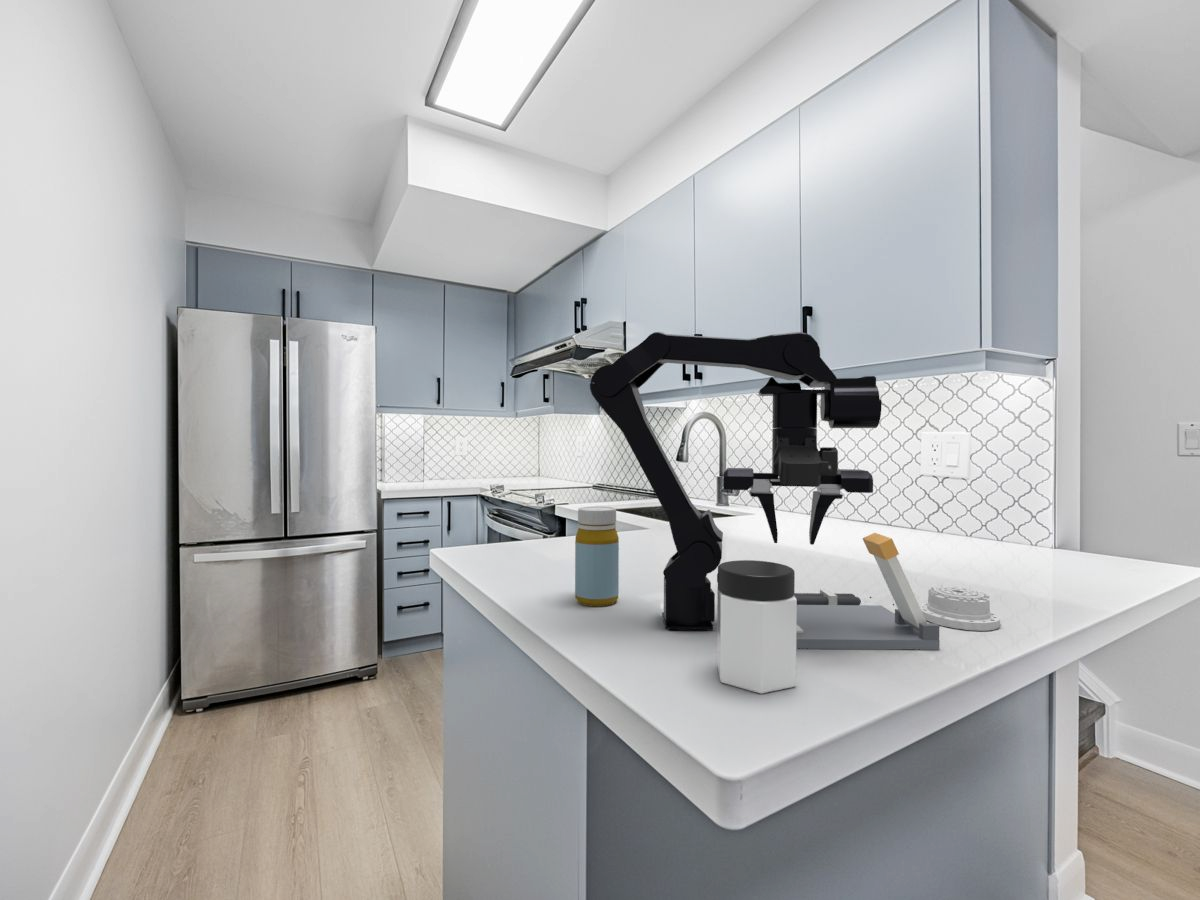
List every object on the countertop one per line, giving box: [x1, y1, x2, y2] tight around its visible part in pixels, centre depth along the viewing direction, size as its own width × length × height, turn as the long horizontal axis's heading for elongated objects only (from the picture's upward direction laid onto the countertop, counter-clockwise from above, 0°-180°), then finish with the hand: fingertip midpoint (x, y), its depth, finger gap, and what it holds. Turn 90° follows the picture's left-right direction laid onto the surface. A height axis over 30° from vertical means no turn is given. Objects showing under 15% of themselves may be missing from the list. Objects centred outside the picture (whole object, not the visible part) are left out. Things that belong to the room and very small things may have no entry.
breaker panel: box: [796, 604, 941, 651], centre depth 77 cm, size 21×15×3 cm
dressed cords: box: [794, 588, 862, 605], centre depth 90 cm, size 19×4×2 cm, turn 89°
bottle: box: [574, 506, 620, 607], centre depth 91 cm, size 7×7×15 cm
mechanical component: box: [919, 585, 1001, 632], centre depth 82 cm, size 10×4×10 cm
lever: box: [861, 532, 928, 631], centre depth 73 cm, size 2×5×13 cm, turn 179°
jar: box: [716, 559, 797, 694], centre depth 62 cm, size 9×8×12 cm
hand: (793, 543), depth 76 cm, fingers open, 4 cm apart
